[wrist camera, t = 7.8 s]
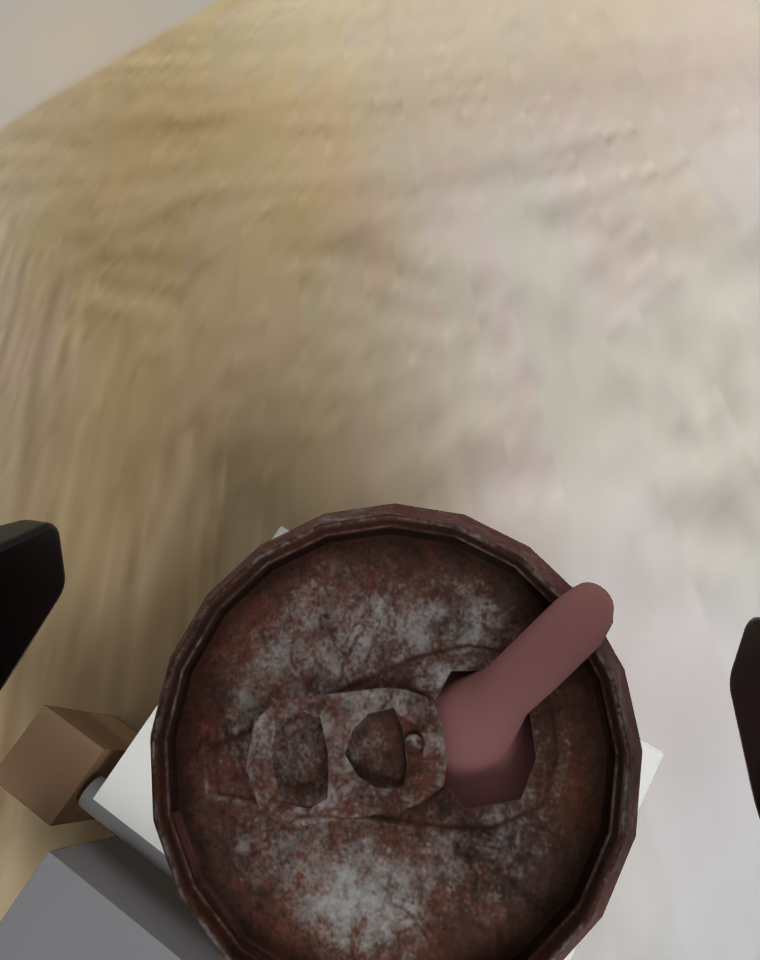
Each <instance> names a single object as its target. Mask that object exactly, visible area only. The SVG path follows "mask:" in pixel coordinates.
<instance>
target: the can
mask: <svg viewBox="0 0 760 960" xmlns="http://www.w3.org/2000/svg"><path fill="white" fill-rule="evenodd" d="M613 610H614V606H613V601H612V599H611V597H610V595H609V594H608V593H607V591H606V590H605V589H603V588H602V587H601V586H599V585H597V584H594V583H589V582H586V583H581V584H579V585H577V586H575V587H573V588H572V587H571V586H570V585H569V584H568V583H567V582H566V581H565V580H564V579H563V578H561V577H560V576H559V575H558V574H557V573H556V572H555V571H554V570H553V569H552V568H551V567H550V566H549V565H548V564H547V563H546V562H545V561H544V560H543V559H541V558H540V557H539V556H538V555H537V554H536V553H535V552H534V551H533V550H532V549H531V548H530V547H528V546H526V545H524V544H522V543H520V542H518V541H516V540H514V539H512V538H510V537H508V536H506V535H504V534H502V533H500V532H498V531H496V530H494V529H492V528H490V527H488V526H486V525H484V524H482V523H480V522H478V521H476V520H474V519H472V518H470V517H468V516H466V515H463V514H457V513H450V512H444V511H438V510H432V509H425V508H419V507H413V506H406V505H400V504H388V505H381V506H374V507H368V508H361V509H354V510H348V511H341V512H334V513H328V514H324V515H321V516H319V517H317V518H315V519H313V520H311V521H309V522H307V523H305V524H303V525H301V526H299V527H297V528H295V529H293V530H291V531H288V532H286V533H284V534H282V535H280V536H278V537H276V538H274V539H272V540H270V541H268V542H266V543H264V544H262V545H260V546H259V547H258V548H257V549H256V550H255V551H254V552H253V553H252V554H251V555H250V556H248V557H247V558H246V559H245V560H244V561H243V562H242V563H241V564H240V565H239V566H238V567H237V568H236V569H234V570H233V571H232V572H231V573H230V574H229V575H228V576H227V577H226V578H225V579H224V580H223V581H222V582H220V583H219V584H218V585H217V586H216V587H215V588H214V589H213V590H212V591H211V592H210V593H209V594H208V595H207V597H206V598H205V600H204V602H203V603H202V605H201V607H200V608H199V610H198V612H197V613H196V615H195V617H194V619H193V620H192V622H191V624H190V625H189V627H188V629H187V630H186V632H185V634H184V636H183V637H182V639H181V641H180V642H179V644H178V646H177V647H176V649H175V651H174V652H173V654H172V656H171V658H170V660H169V664H168V668H167V671H166V675H165V679H164V683H163V687H162V691H161V695H160V699H159V703H158V707H157V711H156V715H155V719H154V723H153V727H152V731H151V735H150V736H151V740H150V750H151V777H152V803H153V822H154V825H155V828H156V830H157V833H158V836H159V839H160V842H161V845H162V848H163V851H164V854H165V857H166V860H167V862H168V865H169V868H170V871H171V874H172V877H173V880H174V883H175V886H176V889H177V892H178V895H179V897H180V899H181V901H182V902H183V903H184V905H185V906H186V907H187V909H188V910H189V911H190V913H191V914H192V915H193V917H194V918H195V919H196V921H197V922H198V923H199V925H200V926H201V927H202V929H203V930H204V931H205V933H206V934H207V936H208V937H209V938H210V940H211V941H212V942H213V944H214V945H215V946H216V948H217V949H218V950H219V952H220V953H221V954H222V956H223V957H224V958H225V960H564V959H565V958H566V957H567V956H568V954H569V953H570V952H571V951H572V950H573V949H574V948H575V947H576V945H577V944H578V943H579V942H580V941H581V940H582V939H583V938H584V937H585V935H586V934H587V933H588V932H589V931H590V930H591V929H592V928H593V926H594V925H595V924H596V923H597V922H598V921H599V920H600V919H601V917H602V916H603V914H604V911H605V909H606V906H607V904H608V902H609V899H610V897H611V894H612V892H613V889H614V887H615V885H616V882H617V880H618V877H619V875H620V873H621V870H622V868H623V865H624V863H625V861H626V858H627V856H628V853H629V851H630V849H631V846H632V844H633V841H634V839H635V837H636V826H637V813H638V801H639V788H640V776H641V763H642V746H641V742H640V737H639V733H638V728H637V724H636V719H635V715H634V711H633V706H632V702H631V697H630V693H629V688H628V684H627V679H626V675H625V670H624V668H623V666H622V664H621V663H620V661H619V659H618V657H617V656H616V654H615V652H614V650H613V649H612V647H611V645H610V643H609V641H608V640H607V638H606V634H607V632H608V631H609V629H610V627H611V625H612V623H613Z"/></svg>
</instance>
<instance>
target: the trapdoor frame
mask: <svg viewBox="0 0 760 960" xmlns="http://www.w3.org/2000/svg"><path fill="white" fill-rule="evenodd" d="M137 734H138V733H137V732H136V731H135V730H133V729H132V728H130V727H129V726H128V725H126V724H125V723H124V722H122V721H121V720H119V719H118V718H117V717H115V716H109V715H103V714H97V713H91V712H85V711H79V710H72V709H66V708H60V707H54V706H48V705H44V706H43V708H42V709H41V710H40V712H39V713H38V714H37V716H36V717H35V718H34V720H33V721H32V722H31V724H30V725H29V726H28V728H27V729H26V730H25V732H24V733H23V735H22V736H21V737H20V739H19V740H18V741H17V743H16V744H15V745H14V747H13V748H12V749H11V751H10V752H9V753H8V755H7V756H6V757H5V759H4V760H3V761H2V763H1V764H0V786H1V787H3V788H4V789H5V790H6V791H8V792H9V793H10V794H11V795H13V796H14V797H15V798H16V799H18V800H19V801H20V802H21V803H23V804H24V805H25V806H26V807H28V808H29V809H30V810H31V811H33V812H34V813H35V814H36V815H38V816H39V817H40V818H41V819H43V820H44V821H45V822H46V823H48V824H49V825H50V826H52V825H58V824H65V823H71V822H78V821H85V820H91V819H95V818H94V817H92V816H91V815H90V814H89V813H87V812H86V811H85V810H83V809H82V808H81V807H80V806H79V805H78V802H79V799H80V797H81V795H82V793H83V792H84V791H85V789H86V788H87V787H88V786H89V784H90V783H91V782H93V781H94V780H95V779H96V778H98V777H100V776H102V777H104V778H105V779H107V778H108V776H109V775H110V773H111V772H112V771H113V769H114V768H115V766H116V765H117V763H118V762H119V760H120V759H121V757H122V756H123V755H124V753H125V752H126V750H127V749H128V747H129V746H130V744H131V743H132V741H133V740H134V739H135V737H136V736H137Z"/></svg>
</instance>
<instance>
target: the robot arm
mask: <svg viewBox="0 0 760 960" xmlns="http://www.w3.org/2000/svg"><path fill="white" fill-rule="evenodd" d="M64 583H65V573H64V565H63V557H62V550H61V542H60V536H59V532H58V530H57V528H56V527H55V526H54V525H53V524H51V523H48V522H40V521H33V520H21V521H17V522H13V523H9V524H5V525H1V526H0V690H1V689H2V687H3V686H4V685H5V683H6V682H7V680H8V679H9V677H10V676H11V674H12V673H13V671H14V670H15V668H16V666H17V665H18V663H19V662H20V660H21V658H22V657H23V655H24V653H25V652H26V650H27V649H28V647H29V645H30V644H31V642H32V641H33V639H34V637H35V636H36V634H37V632H38V631H39V629H40V628H41V626H42V624H43V623H44V621H45V619H46V618H47V616H48V615H49V613H50V611H51V610H52V608H53V607H54V605H55V603H56V602H57V600H58V598H59V597H60V595H61V593H62V590H63V588H64ZM730 691H731V697H732V701H733V706H734V711H735V715H736V720H737V725H738V729H739V734H740V739H741V743H742V748H743V753H744V757H745V762H746V767H747V771H748V776H749V781H750V785H751V789H752V793H753V797H754V801H755V805H756V808H757V812H758V815H759V818H760V617H754V618H752V619H751V620H749V622H748V624H747V625H746V627H745V630H744V633H743V636H742V639H741V642H740V645H739V648H738V652H737V655H736V658H735V661H734V664H733V667H732V671H731V675H730Z"/></svg>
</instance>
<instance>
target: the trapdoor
mask: <svg viewBox="0 0 760 960" xmlns="http://www.w3.org/2000/svg"><path fill="white" fill-rule="evenodd" d="M288 531H289V530H287V529H286V528H284V527H282V526H280V528H279V529H278V531H277V532H276V534H275V535H274V537H273V538H272V539H274V538H276V537H278V536H280V535H282V534H284V533H286V532H288ZM157 707H158V705H157ZM157 707H156V708H155V709H154V711H153V712H152V714H151V715H150V717H149V718H148V720H147V721H146V723H145V724H144V725H143V727H142V728H141V730H140V731H139V733H138V734H137V736H136V737H135V739H134V740H133V741H132V743H131V744H130V746H129V747H128V749H127V750H126V752H125V753H124V755H123V756H122V757H121V759H120V760H119V762H118V763H117V765H116V766H115V768H114V769H113V771H112V772H111V773H110V775H109V776H108V778H107V779H105V778H104V777H102V776H100V777H98V778H96V779H95V780H94V781H93V782H91V783H90V784H89V786H88V787H87V788H86V789H85V791H84V792H83V793H82V795H81V797H80V799H79V802H78V805H79V806H80V807H81V808H82V809H83V810H85V811H86V812H87V813H89V814H90V815H91V816H92V817H94V818H95V819H96V820H97V821H99V822H100V823H101V824H103V825H104V826H105V827H106V828H108V829H109V830H110V831H112V832H113V833H114V834H115V835H117V836H115V837H110V838H106V839H102V840H97V841H93V842H88V843H84V844H80V845H75V846H71V847H67V848H62V849H58V850H53V851H49V852H48V854H47V855H46V857H45V858H44V859H43V861H42V862H41V864H40V865H39V867H38V868H37V870H36V871H35V872H34V874H33V875H32V877H31V878H30V880H29V881H28V883H27V884H26V885H25V887H24V888H23V890H22V891H21V893H20V894H19V896H18V897H17V899H16V900H15V901H14V903H13V904H12V906H11V907H10V909H9V910H8V912H7V913H6V914H5V916H4V917H3V919H2V920H1V922H0V960H225V958H224V957H223V956H222V954H221V953H220V952H219V950H218V949H217V948H216V946H215V945H214V944H213V942H212V941H211V940H210V938H209V937H208V936H207V934H206V933H205V931H204V930H203V929H202V927H201V926H200V925H199V923H198V922H197V921H196V919H195V918H194V917H193V915H192V914H191V913H190V911H189V910H188V909H187V907H186V906H185V905H184V903H183V902H182V901H181V899H180V897H179V895H178V892H177V889H176V886H175V883H174V880H173V877H172V874H171V871H170V868H169V865H168V862H167V860H166V857H165V854H164V851H163V848H162V845H161V842H160V839H159V836H158V833H157V830H156V828H155V825H154V822H153V803H152V777H151V750H150V740H151V736H150V735H151V731H152V727H153V723H154V719H155V715H156V711H157ZM640 742H641V746H642V763H641V776H640V788H639V801H638V810H639V807H640V805H641V803H642V801H643V799H644V796H645V794H646V792H647V790H648V787H649V785H650V783H651V781H652V779H653V776H654V774H655V772H656V770H657V768H658V765H659V763H660V761H661V759H662V757H663V754H664V753H662V752H660V751H659V750H657V749H655V748H654V747H652V746H650V745H649V744H647V743H645V742H644V741H642V740H640ZM576 946H577V945H576ZM575 949H576V947H575V948H574V949H573V950H572V951H571V952H570V953H569V954H568V956H567V957H566V958H565V959H564V960H571V957H572V955H573V953H574V951H575Z"/></svg>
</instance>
